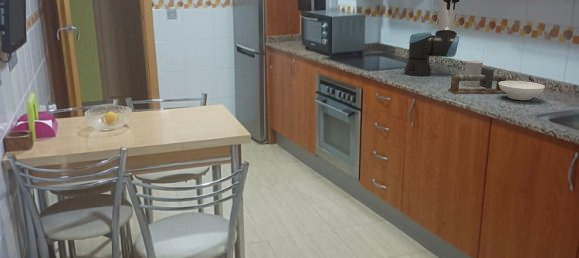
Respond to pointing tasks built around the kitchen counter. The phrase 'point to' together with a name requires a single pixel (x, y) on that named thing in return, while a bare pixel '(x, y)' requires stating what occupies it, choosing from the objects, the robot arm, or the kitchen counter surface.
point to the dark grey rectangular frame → (487, 77)
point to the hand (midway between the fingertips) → (449, 16)
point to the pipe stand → (456, 89)
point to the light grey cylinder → (473, 72)
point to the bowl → (521, 89)
